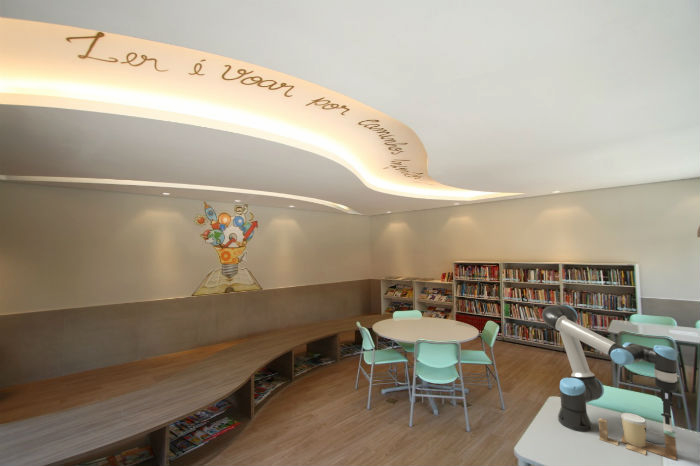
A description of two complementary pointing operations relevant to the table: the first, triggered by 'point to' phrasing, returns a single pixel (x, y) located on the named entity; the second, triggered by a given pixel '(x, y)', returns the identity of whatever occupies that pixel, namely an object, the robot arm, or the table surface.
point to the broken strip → (604, 437)
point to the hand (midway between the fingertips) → (667, 424)
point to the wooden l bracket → (666, 452)
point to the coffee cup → (634, 429)
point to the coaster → (654, 437)
